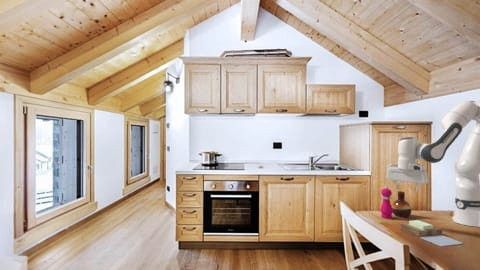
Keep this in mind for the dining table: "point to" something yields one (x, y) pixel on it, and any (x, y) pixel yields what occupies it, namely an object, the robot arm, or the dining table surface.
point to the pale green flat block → (421, 225)
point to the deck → (421, 231)
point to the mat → (441, 240)
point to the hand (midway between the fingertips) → (406, 189)
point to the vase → (401, 206)
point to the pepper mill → (386, 204)
